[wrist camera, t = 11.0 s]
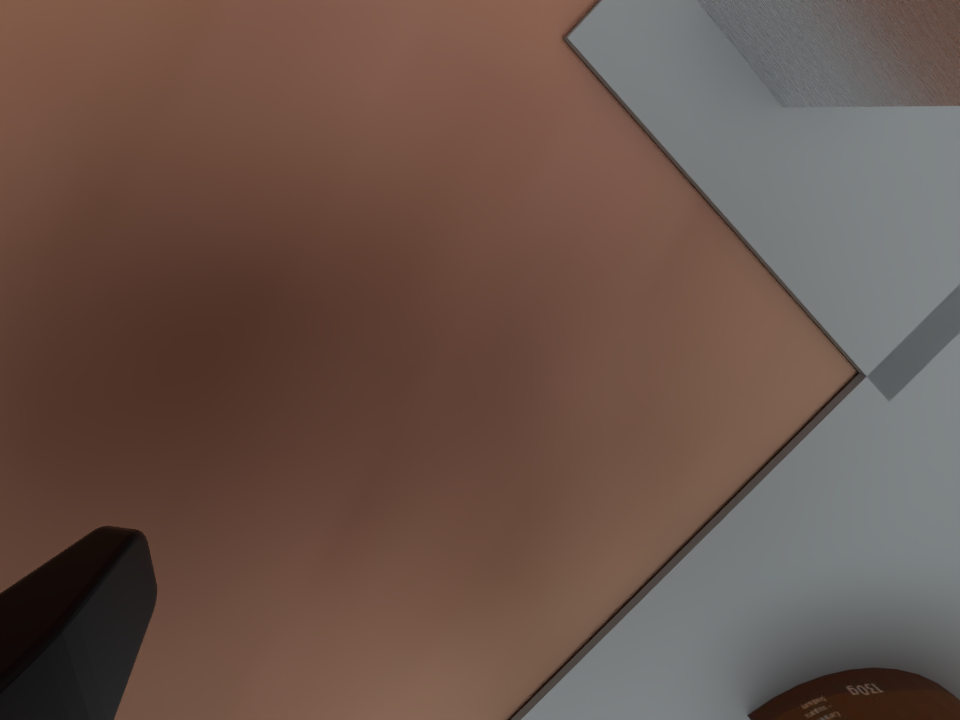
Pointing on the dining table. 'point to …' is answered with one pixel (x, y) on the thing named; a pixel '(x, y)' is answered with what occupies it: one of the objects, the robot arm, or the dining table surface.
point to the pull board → (846, 322)
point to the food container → (863, 698)
